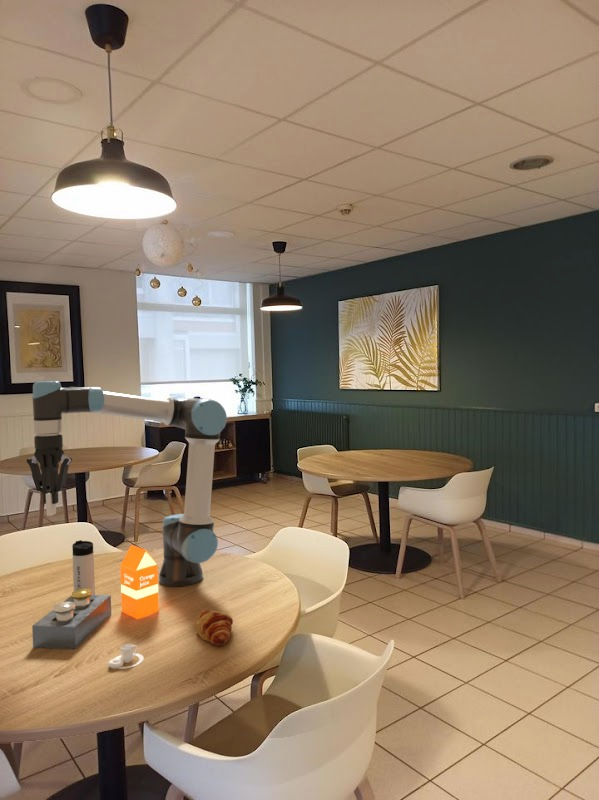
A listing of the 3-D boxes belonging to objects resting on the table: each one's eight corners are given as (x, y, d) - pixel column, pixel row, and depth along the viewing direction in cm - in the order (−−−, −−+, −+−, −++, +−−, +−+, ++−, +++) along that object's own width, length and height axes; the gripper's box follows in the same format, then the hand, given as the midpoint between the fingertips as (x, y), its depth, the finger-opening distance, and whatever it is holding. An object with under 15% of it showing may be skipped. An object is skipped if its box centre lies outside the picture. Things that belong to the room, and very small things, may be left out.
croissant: (197, 632, 169) (183, 610, 167) (226, 611, 172) (213, 590, 171) (214, 663, 149) (199, 639, 148) (246, 639, 152) (231, 615, 151)
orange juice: (136, 619, 170) (134, 553, 170) (121, 611, 176) (119, 547, 176) (159, 611, 176) (157, 547, 175) (143, 603, 182) (141, 541, 181)
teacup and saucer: (109, 674, 140) (108, 657, 140) (106, 659, 147) (106, 644, 147) (145, 666, 143) (145, 650, 143) (141, 652, 151) (141, 637, 150)
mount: (111, 614, 174) (110, 595, 174) (75, 649, 152) (74, 627, 152) (73, 613, 175) (73, 594, 175) (33, 647, 154) (32, 625, 153)
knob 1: (80, 629, 161) (79, 601, 161) (70, 638, 156) (69, 609, 155) (61, 629, 162) (60, 601, 162) (50, 638, 156) (49, 609, 156)
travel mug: (89, 598, 187) (87, 538, 186) (98, 604, 182) (96, 542, 181) (70, 604, 182) (68, 542, 182) (79, 610, 178) (77, 546, 177)
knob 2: (96, 614, 171) (95, 588, 171) (87, 622, 166) (86, 595, 165) (78, 614, 172) (77, 588, 171) (69, 622, 166) (68, 595, 166)
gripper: (76, 432, 169) (78, 511, 170) (34, 433, 171) (37, 511, 172) (63, 435, 162) (66, 518, 163) (19, 435, 163) (22, 517, 164)
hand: (51, 514), depth 167 cm, fingers closed
